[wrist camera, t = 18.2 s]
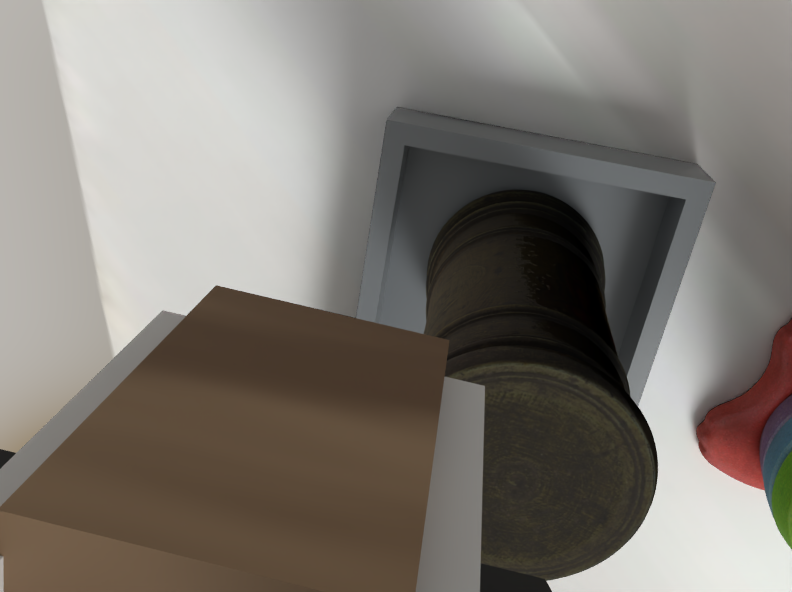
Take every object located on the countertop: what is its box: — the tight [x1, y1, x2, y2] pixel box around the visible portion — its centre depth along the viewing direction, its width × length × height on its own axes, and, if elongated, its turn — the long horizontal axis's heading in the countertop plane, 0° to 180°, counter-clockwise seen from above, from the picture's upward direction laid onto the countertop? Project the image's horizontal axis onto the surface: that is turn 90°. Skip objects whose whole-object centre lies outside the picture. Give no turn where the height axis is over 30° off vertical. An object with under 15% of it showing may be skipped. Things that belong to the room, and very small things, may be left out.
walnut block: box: [0, 286, 449, 592], centre depth 11 cm, size 4×4×6 cm
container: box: [424, 190, 658, 581], centre depth 31 cm, size 9×9×18 cm
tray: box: [356, 107, 716, 406], centre depth 40 cm, size 22×15×4 cm
